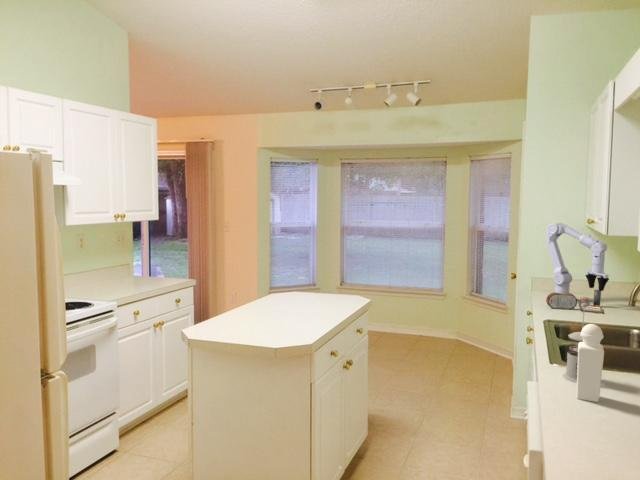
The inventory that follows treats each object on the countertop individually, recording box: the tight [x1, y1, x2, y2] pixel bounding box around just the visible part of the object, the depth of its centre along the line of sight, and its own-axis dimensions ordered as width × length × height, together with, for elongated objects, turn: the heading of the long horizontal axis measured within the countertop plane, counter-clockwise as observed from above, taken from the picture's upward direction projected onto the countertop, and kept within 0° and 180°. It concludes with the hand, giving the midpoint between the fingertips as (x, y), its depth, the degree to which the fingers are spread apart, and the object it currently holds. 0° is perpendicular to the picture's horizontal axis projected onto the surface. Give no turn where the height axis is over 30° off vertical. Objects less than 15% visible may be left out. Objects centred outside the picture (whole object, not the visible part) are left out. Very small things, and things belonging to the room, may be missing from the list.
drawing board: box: [579, 305, 604, 315], centre depth 265 cm, size 12×10×1 cm
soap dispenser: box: [576, 323, 605, 403], centre depth 149 cm, size 6×6×22 cm
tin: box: [545, 291, 578, 310], centre depth 266 cm, size 15×3×8 cm, turn 84°
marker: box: [592, 289, 602, 307], centre depth 273 cm, size 3×3×9 cm
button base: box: [578, 298, 591, 308], centre depth 274 cm, size 5×5×3 cm
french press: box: [562, 303, 588, 384], centre depth 164 cm, size 10×12×25 cm
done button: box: [579, 296, 590, 302], centre depth 274 cm, size 4×4×3 cm
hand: (596, 289), depth 272 cm, fingers open, 7 cm apart
